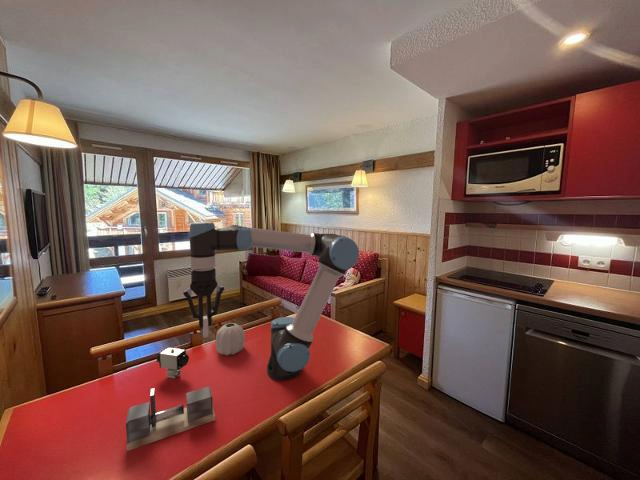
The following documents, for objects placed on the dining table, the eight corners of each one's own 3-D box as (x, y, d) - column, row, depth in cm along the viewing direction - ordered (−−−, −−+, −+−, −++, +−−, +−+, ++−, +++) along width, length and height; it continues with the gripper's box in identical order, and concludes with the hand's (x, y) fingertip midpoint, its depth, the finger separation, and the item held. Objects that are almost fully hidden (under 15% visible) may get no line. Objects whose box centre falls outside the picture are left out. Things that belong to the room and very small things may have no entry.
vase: (249, 353, 129) (248, 326, 128) (219, 362, 121) (218, 334, 120) (240, 341, 140) (239, 317, 139) (212, 348, 133) (211, 323, 131)
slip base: (211, 402, 96) (210, 381, 95) (215, 419, 88) (214, 397, 87) (130, 428, 84) (128, 404, 83) (126, 451, 76) (124, 425, 75)
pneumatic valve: (182, 381, 107) (180, 353, 106) (157, 377, 109) (155, 350, 108) (191, 373, 112) (190, 346, 111) (167, 369, 115) (166, 343, 113)
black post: (183, 410, 90) (182, 379, 88) (184, 420, 85) (182, 388, 84) (133, 427, 83) (130, 393, 81) (131, 438, 78) (128, 403, 77)
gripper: (221, 264, 95) (223, 327, 98) (181, 267, 89) (183, 335, 91) (225, 268, 89) (227, 335, 91) (182, 272, 82) (185, 344, 85)
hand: (205, 335), depth 91 cm, fingers closed
